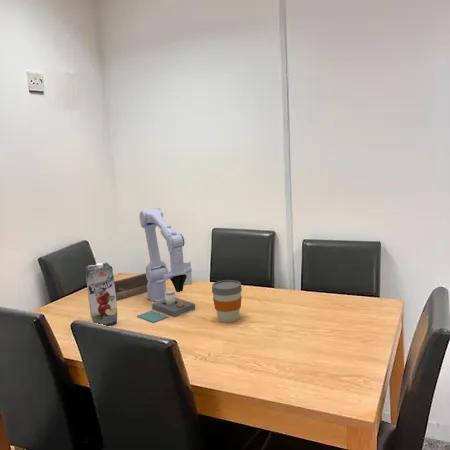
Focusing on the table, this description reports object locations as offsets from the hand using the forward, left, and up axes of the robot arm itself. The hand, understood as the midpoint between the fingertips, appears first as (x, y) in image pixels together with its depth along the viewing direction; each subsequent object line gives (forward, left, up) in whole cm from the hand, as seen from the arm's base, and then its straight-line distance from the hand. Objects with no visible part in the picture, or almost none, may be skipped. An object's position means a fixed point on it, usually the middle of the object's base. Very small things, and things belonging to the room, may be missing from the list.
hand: (179, 291), depth 208 cm
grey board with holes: (-5, 0, -9) cm, 11 cm away
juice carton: (-16, -29, -10) cm, 34 cm away
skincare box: (-30, +29, -10) cm, 43 cm away
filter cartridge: (-7, 0, -9) cm, 12 cm away
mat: (-5, -12, -9) cm, 16 cm away
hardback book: (-45, +4, -10) cm, 46 cm away
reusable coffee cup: (+23, +7, -10) cm, 26 cm away
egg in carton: (0, 0, -8) cm, 8 cm away
